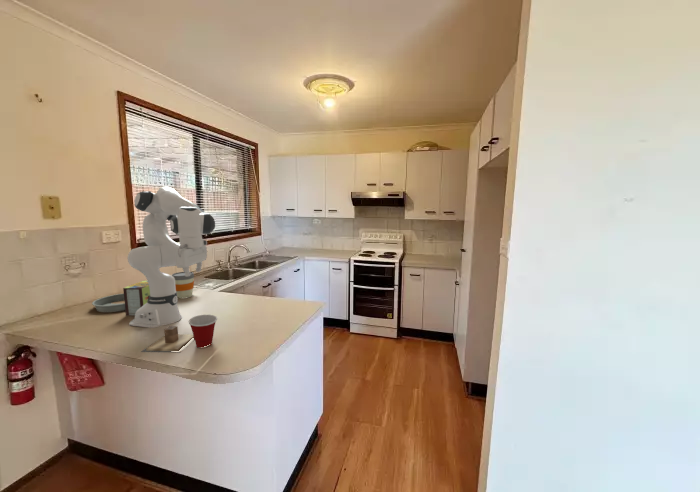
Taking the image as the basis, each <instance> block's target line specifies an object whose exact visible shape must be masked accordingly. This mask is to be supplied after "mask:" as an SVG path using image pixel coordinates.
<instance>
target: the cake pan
mask: <svg viewBox="0 0 700 492" xmlns="http://www.w3.org/2000/svg"><path fill="white" fill-rule="evenodd" d="M123 301H124V292H123V293H117V294H116V293H115V294H112V295H107V296H103V297H100V298H97V299H95V300H93V301H92V303H91V305H93V306H94V307H95V310H96V311H97V312H99V313H113V312H115V313H116V312H121V311H126V310H125V301H124V303H122V302H123ZM116 302H121V303H116Z"/></svg>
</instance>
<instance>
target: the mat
mask: <svg viewBox="0 0 700 492" xmlns="http://www.w3.org/2000/svg"><path fill="white" fill-rule="evenodd" d="M163 336H165V334H164V335H163ZM163 336H162V337H163ZM162 337H160V338H162ZM152 344H153V343H151V344H150V345H152ZM150 345H148V346H147V347H149V346H150ZM140 353H172V352H171V351H146V348H144V349H142V351H140Z"/></svg>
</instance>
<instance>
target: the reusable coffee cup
mask: <svg viewBox="0 0 700 492" xmlns="http://www.w3.org/2000/svg"><path fill="white" fill-rule="evenodd" d="M190 272H191V275H190V276H188V277H186V276H185V272H184V271H180V272H174V273H172V274H171V275H172V276H173V277H174V278H175V286H176V292H177V299H187V298H191V297H192V296H193V291H194V287H195V286H194V285H195V280H194V278H195V273H194V272H193V271H190Z"/></svg>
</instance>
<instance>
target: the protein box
mask: <svg viewBox="0 0 700 492" xmlns="http://www.w3.org/2000/svg"><path fill="white" fill-rule="evenodd" d="M122 290H123V293H124V303H125V310H124V311H125V316H129V317H130V316H131V317H133V316H134V317H135V313H136V311H137V310H138V309H139V308H141V307H142V306H143V305H144V304H146V303H147V301H148V299H146V297H148V296H149V295H150V289H149V284H148V280H142V281H139V282H136V283H134V284H131V285H127V286H125V287H123V288H122ZM145 299H146V300H145Z"/></svg>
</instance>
